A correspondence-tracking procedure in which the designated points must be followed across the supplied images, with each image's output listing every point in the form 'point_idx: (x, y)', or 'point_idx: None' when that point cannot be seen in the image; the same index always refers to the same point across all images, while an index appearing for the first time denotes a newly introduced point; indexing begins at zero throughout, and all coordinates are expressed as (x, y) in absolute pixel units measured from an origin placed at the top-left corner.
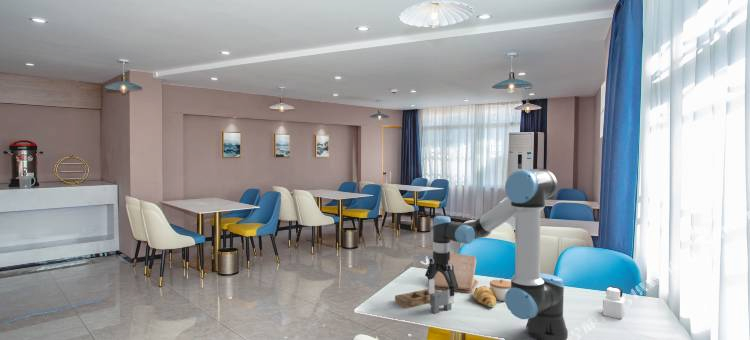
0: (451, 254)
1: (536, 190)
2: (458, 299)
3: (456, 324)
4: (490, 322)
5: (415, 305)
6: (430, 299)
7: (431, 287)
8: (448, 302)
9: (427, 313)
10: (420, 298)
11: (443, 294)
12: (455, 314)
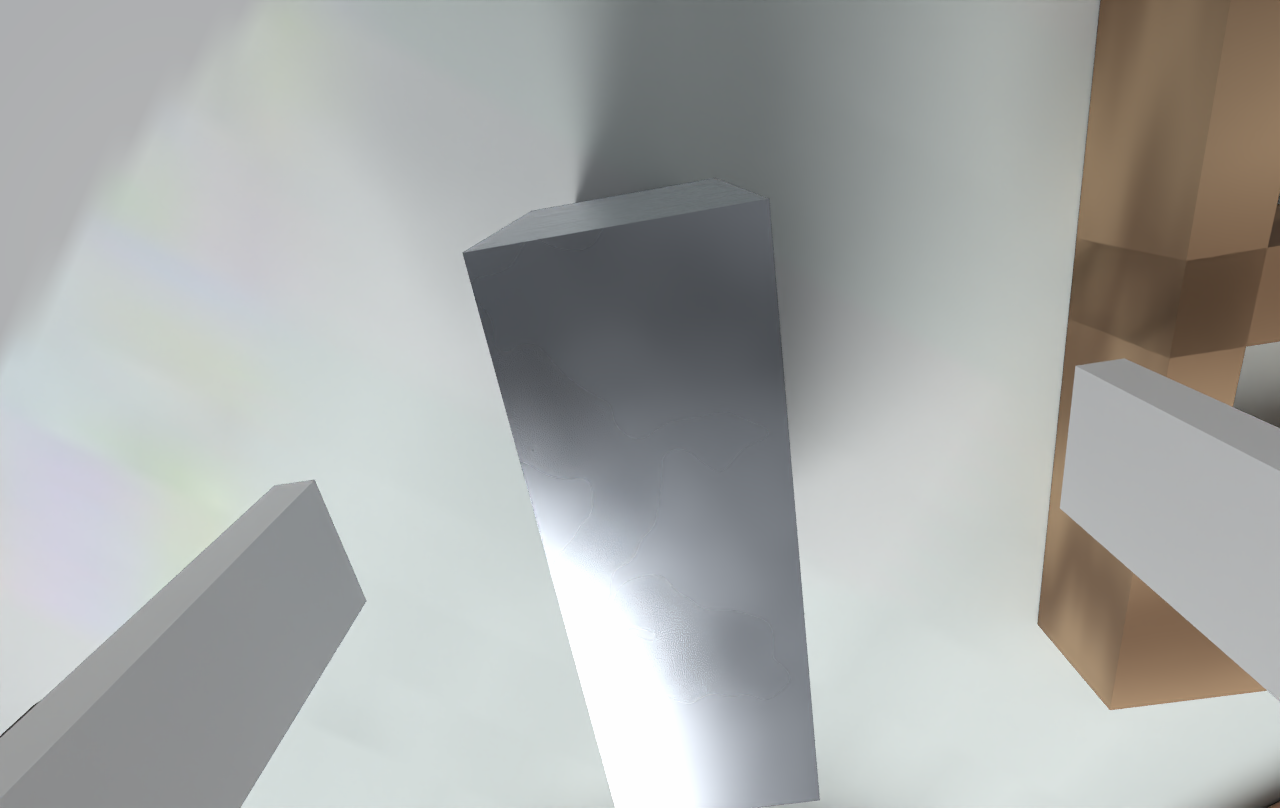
0: None
1: None
2: (929, 770)
3: (44, 327)
4: None
5: (1110, 13)
6: (708, 189)
7: (1215, 520)
8: (272, 496)
9: (637, 75)
10: (1199, 161)
11: (555, 584)
12: (447, 504)
